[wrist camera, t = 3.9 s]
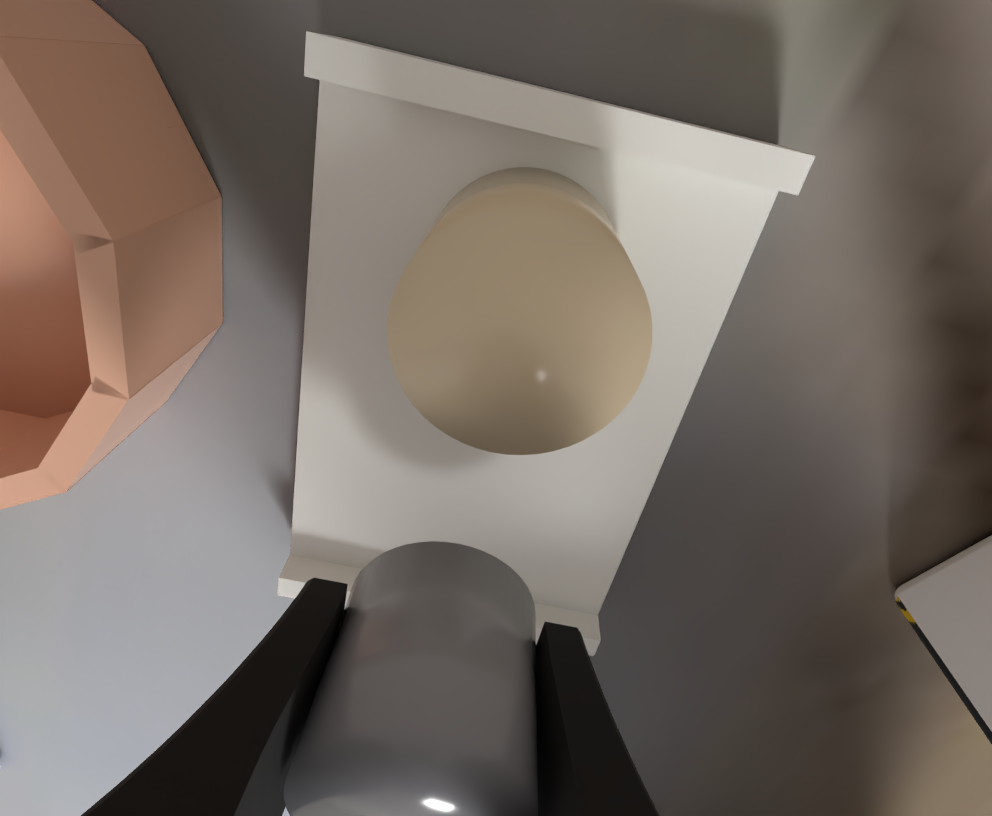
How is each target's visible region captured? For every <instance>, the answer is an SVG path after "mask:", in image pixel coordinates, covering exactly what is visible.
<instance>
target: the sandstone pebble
mask: <svg viewBox="0 0 992 816" xmlns="http://www.w3.org/2000/svg"><path fill="white" fill-rule="evenodd" d="M387 341H388V350H389V355H390V359H391V364H392V366H393V369H394V372H395V375H396V377H397V380H398V382H399V383H400V385H401V387H402V389H403V391H404V393H405V394H406V396H407V397H408V399H409V400H410V401H411V403H412V404H413V405H414V407H415V408H416V409H417V410H418V411H419V412H420V413H421V414H422V416H423V417H425V418H426V419H427V420H428V421H429V422H430V423H431V424H433V425H434V426H435V427H436V428H438V429H439V430H441V431H442V432H444V433H445V434H447V435H448V436H450V437H452V438H454V439H456V440H458V441H459V442H461V443H464V444H467V445H469V446H472V447H474V448H477V449H481V450H485V451H488V452H493V453H499V454H506V455H533V454H541V453H547V452H553V451H556V450H559V449H563V448H566V447H569V446H571V445H574V444H576V443H579V442H581V441H583V440H585V439H587V438H588V437H590V436H592V435H594V434H595V433H597V432H598V431H600V430H601V429H602V428H604V427H605V426H606V425H608V424H609V423H610V422H611V421H612V420H613V419H614V418H615V417H616V416H617V415H619V414H620V413H621V411H622V410H623V409H624V408H625V406H626V405H627V404H628V403H629V402H630V400H631V399H632V397H633V395H634V394H635V392H636V391H637V389H638V388H639V385H640V383H641V381H642V379H643V377H644V374H645V372H646V368H647V365H648V362H649V358H650V353H651V346H652V319H651V312H650V307H649V303H648V300H647V296H646V293H645V290H644V288H643V286H642V284H641V281H640V279H639V277H638V275H637V273H636V271H635V269H634V267H633V265H632V263H631V261H630V259H629V257H628V255H627V253H626V251H625V249H624V247H623V245H622V243H621V241H620V239H619V237H618V235H617V233H616V231H615V229H614V227H613V225H612V223H611V221H610V219H609V218H608V216H607V214H606V213H605V211H604V209H603V208H602V206H601V205H600V204H599V203H598V201H597V200H596V199H595V198H594V197H593V196H592V195H591V194H590V193H589V192H588V191H587V190H586V189H584V188H583V187H582V186H581V185H579V184H578V183H576V182H575V181H573V180H572V179H569V178H567V177H565V176H563V175H561V174H559V173H556V172H552V171H549V170H546V169H540V168H534V167H515V168H507V169H502V170H499V171H495V172H492V173H489V174H487V175H484V176H482V177H480V178H478V179H476V180H475V181H473V182H471V183H470V184H468V185H467V186H466V187H464V188H463V189H462V190H460V191H459V192H458V193H457V194H456V195H455V196H454V197H453V198H452V199H451V200H450V201H449V203H448V204H447V205H446V207H445V208H444V210H443V211H442V212H441V214H440V215H439V217H438V219H437V220H436V222H435V223H434V225H433V226H432V228H431V229H430V231H429V233H428V234H427V236H426V237H425V239H424V240H423V242H422V243H421V245H420V246H419V248H418V250H417V251H416V253H415V254H414V256H413V257H412V259H411V260H410V262H409V264H408V265H407V267H406V268H405V270H404V272H403V274H402V276H401V277H400V279H399V281H398V283H397V285H396V288H395V291H394V293H393V296H392V299H391V303H390V308H389V313H388V321H387Z"/></svg>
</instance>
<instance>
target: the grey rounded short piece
mask: <svg viewBox="0 0 992 816" xmlns="http://www.w3.org/2000/svg"><path fill="white" fill-rule="evenodd" d="M284 801H285V805H286V808H287V810H288V812H289V814H290V816H538V770H537V688H536V612H535V604H534V601H533V597H532V595H531V593H530V591H529V589H528V587H527V585H526V584H525V582H524V581H523V580H522V578H521V577H520V576H519V575H518V574H517V573H516V572H515V571H514V570H513V569H512V568H511V567H509V566H508V565H507V564H506V563H504V562H503V561H501V560H499V559H498V558H496V557H495V556H493V555H490V554H488V553H486V552H484V551H482V550H479V549H476V548H473V547H470V546H466V545H462V544H457V543H450V542H438V541H429V542H417V543H411V544H406V545H403V546H399V547H396V548H393V549H391V550H388V551H386V552H384V553H382V554H381V555H379V556H377V557H375V558H374V559H373V560H372V561H370V562H369V563H368V564H367V565H366V566H365V567H364V568H363V569H362V570H361V571H360V573H359V574H358V576H357V577H356V579H355V581H354V583H353V586H352V588H351V591H350V594H349V597H348V600H347V603H346V606H345V609H344V612H343V615H342V618H341V621H340V624H339V627H338V630H337V633H336V636H335V639H334V642H333V645H332V647H331V650H330V653H329V656H328V659H327V662H326V664H325V667H324V670H323V673H322V675H321V678H320V681H319V684H318V687H317V690H316V693H315V696H314V699H313V702H312V705H311V707H310V710H309V713H308V716H307V719H306V722H305V725H304V728H303V731H302V734H301V737H300V739H299V742H298V745H297V748H296V751H295V754H294V757H293V760H292V763H291V766H290V769H289V771H288V774H287V777H286V780H285V785H284Z"/></svg>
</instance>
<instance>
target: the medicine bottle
mask: <svg viewBox="0 0 992 816" xmlns="http://www.w3.org/2000/svg"><path fill="white" fill-rule="evenodd" d="M894 597H895V600H896V603H897V605H898V607H899V608H900V610H901V611H902V613H903V614H904V616H905V617H906V619H907V620H908V622H909V623H910V625H911V626H912V627H913V629H914V630H915V632H916V633H917V635H918V636H919V638H920V639H921V641H922V642H923V644H924V645H925V647H926V648H927V650H928V651H929V653H930V654H931V655H932V657H933V658H934V660H935V661H936V663H937V664H938V666H939V667H940V669H941V670H942V672H943V673H944V675H945V676H946V678H947V679H948V681H949V682H950V683H951V685H952V686H953V688H954V689H955V691H956V692H957V694H958V695H959V697H960V698H961V700H962V701H963V703H964V704H965V706H966V707H967V709H968V710H969V711H970V713H971V714H972V716H973V717H974V719H975V720H976V722H977V723H978V725H979V726H980V728H981V729H982V731H983V732H984V734H985V735H986V737H987V738H988V739H989V741H990V742H991V744H992V535H990V536H989V537H987V538H985V539H983V540H981V541H980V542H978V543H976V544H974V545H973V546H971V547H969V548H967V549H965V550H964V551H962V552H960V553H958V554H956V555H955V556H953V557H951V558H949V559H947V560H946V561H944V562H942V563H940V564H938V565H937V566H935V567H933V568H931V569H929V570H928V571H926V572H924V573H922V574H920V575H919V576H917V577H915V578H913V579H912V580H910V581H908V582H906V583H904V584H903V585H901V586H900V587H898V589H897V590H896V592H895V594H894Z"/></svg>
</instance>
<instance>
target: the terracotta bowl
mask: <svg viewBox="0 0 992 816" xmlns="http://www.w3.org/2000/svg"><path fill="white" fill-rule="evenodd" d="M222 324H223V275H222V196H221V194H220V193H219V191H218V189H217V187H216V185H215V183H214V181H213V179H212V177H211V175H210V173H209V171H208V169H207V167H206V165H205V163H204V161H203V159H202V157H201V155H200V153H199V151H198V149H197V148H196V146H195V144H194V142H193V140H192V138H191V136H190V134H189V132H188V130H187V128H186V126H185V124H184V122H183V120H182V118H181V116H180V114H179V112H178V110H177V108H176V106H175V104H174V103H173V101H172V99H171V97H170V95H169V93H168V91H167V89H166V87H165V85H164V83H163V81H162V79H161V77H160V75H159V73H158V71H157V69H156V67H155V65H154V63H153V61H152V59H151V58H150V56H149V54H148V52H147V50H146V48H145V45H144V44H142V43H141V42H140V41H139V40H138V39H137V38H135V37H134V36H133V35H132V34H131V33H130V32H128V31H127V30H126V29H125V28H124V27H123V26H121V25H120V24H119V23H118V22H117V21H116V20H114V19H113V18H112V17H111V16H110V15H109V14H107V13H106V12H105V11H104V10H103V9H102V8H100V7H99V6H98V5H97V4H96V3H95V2H93V1H92V0H0V509H4V508H8V507H11V506H15V505H19V504H23V503H26V502H30V501H34V500H38V499H41V498H45V497H49V496H53V495H57V494H60V493H64V492H67V491H68V490H69V489H70V488H71V487H72V486H73V485H74V484H76V483H77V482H78V481H79V480H80V479H81V478H82V477H83V476H84V475H86V474H87V473H88V472H89V471H90V470H91V469H92V468H93V467H94V466H96V465H97V464H98V463H99V462H100V461H101V460H102V459H103V458H104V457H106V456H107V455H108V454H109V453H110V452H111V451H112V450H113V449H114V448H115V447H117V446H118V445H119V444H120V443H121V442H122V441H123V440H124V439H125V438H127V437H128V436H129V435H130V434H131V433H132V432H133V431H134V430H135V429H137V428H138V427H139V426H140V425H141V424H142V423H143V422H144V421H145V420H147V419H148V418H149V417H150V416H151V415H152V414H153V413H154V412H155V411H156V410H158V409H159V408H160V407H161V406H162V405H163V404H164V403H165V402H166V401H167V400H168V398H169V397H170V396H171V394H172V393H173V391H174V390H175V389H176V387H177V386H178V385H179V383H180V382H181V380H182V379H183V378H184V376H185V375H186V373H187V372H188V371H189V369H190V368H191V366H192V365H193V364H194V362H195V361H196V360H197V358H198V357H199V355H200V354H201V353H202V351H203V350H204V348H205V347H206V346H207V344H208V343H209V341H210V340H211V339H212V337H213V336H214V335H215V333H216V332H217V330H218V329H219V328H220V326H221V325H222Z"/></svg>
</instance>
